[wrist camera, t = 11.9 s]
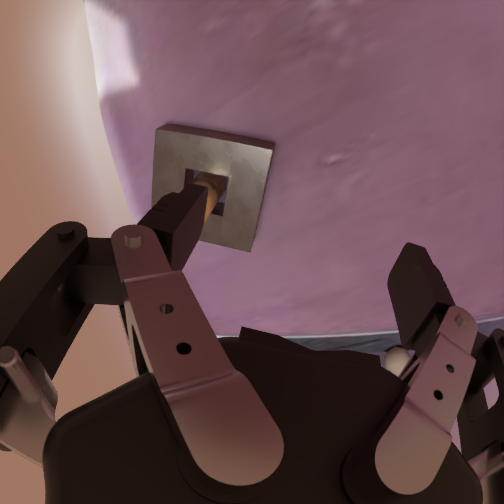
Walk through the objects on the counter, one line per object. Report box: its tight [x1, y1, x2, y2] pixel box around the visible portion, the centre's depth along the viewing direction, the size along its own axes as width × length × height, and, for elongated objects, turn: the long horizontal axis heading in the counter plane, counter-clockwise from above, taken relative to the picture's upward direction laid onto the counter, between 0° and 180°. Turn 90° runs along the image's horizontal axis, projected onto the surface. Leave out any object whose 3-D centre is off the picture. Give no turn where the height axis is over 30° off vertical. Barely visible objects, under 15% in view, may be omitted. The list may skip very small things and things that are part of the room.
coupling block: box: [152, 124, 275, 252], centre depth 39 cm, size 14×14×4 cm
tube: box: [384, 347, 411, 376], centre depth 55 cm, size 5×5×25 cm
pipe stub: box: [192, 171, 227, 223], centre depth 37 cm, size 4×4×9 cm
